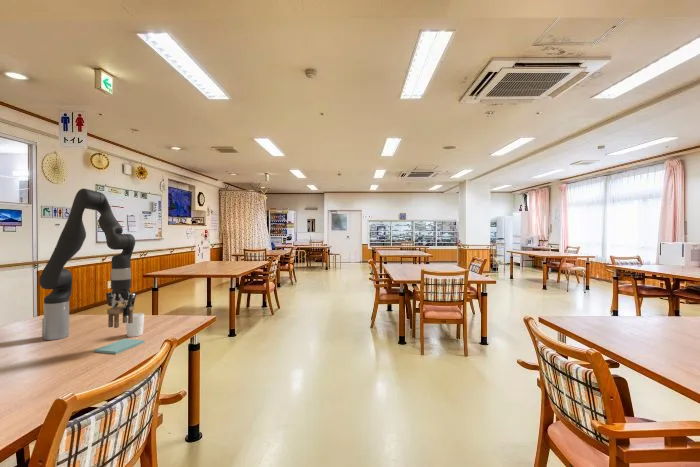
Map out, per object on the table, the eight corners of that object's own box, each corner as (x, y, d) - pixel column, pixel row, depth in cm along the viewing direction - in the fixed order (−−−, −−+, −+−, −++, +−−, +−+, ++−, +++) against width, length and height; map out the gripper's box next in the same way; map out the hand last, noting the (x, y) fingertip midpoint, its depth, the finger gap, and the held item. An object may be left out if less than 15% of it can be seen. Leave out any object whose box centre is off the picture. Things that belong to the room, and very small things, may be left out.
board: (94, 351, 141) (94, 349, 141) (124, 340, 156) (124, 338, 156) (115, 354, 139) (115, 351, 139) (144, 342, 154) (144, 340, 154)
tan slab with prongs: (124, 321, 153) (124, 304, 153) (133, 322, 152) (134, 305, 152) (106, 327, 144) (107, 309, 144) (116, 328, 143) (116, 309, 143)
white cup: (135, 337, 160) (135, 317, 160) (121, 336, 162) (121, 316, 162) (147, 333, 168) (148, 313, 168) (134, 331, 170) (135, 312, 170)
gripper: (141, 277, 150) (141, 314, 150) (115, 276, 153) (114, 312, 153) (127, 279, 143) (127, 319, 143) (100, 278, 145) (99, 317, 145)
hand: (120, 315), depth 148 cm, fingers closed on tan slab with prongs, 5 cm apart
